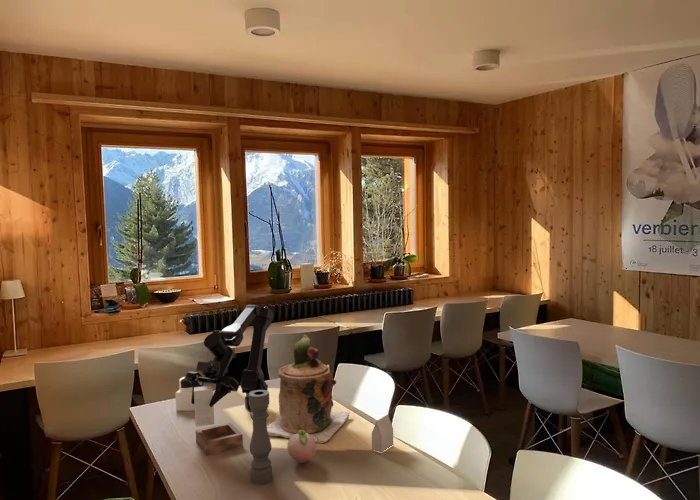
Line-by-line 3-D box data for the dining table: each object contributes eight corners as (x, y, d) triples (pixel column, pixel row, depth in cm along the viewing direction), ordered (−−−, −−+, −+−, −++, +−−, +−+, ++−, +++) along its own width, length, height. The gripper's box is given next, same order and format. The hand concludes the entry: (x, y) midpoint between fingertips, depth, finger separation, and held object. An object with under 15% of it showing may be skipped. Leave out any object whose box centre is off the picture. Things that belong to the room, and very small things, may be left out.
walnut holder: (231, 433, 186) (230, 422, 185) (242, 446, 175) (242, 434, 175) (195, 441, 179) (195, 430, 179) (206, 455, 169) (205, 443, 169)
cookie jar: (259, 436, 183) (256, 343, 181) (290, 410, 206) (288, 327, 204) (327, 445, 175) (325, 347, 173) (351, 417, 198) (350, 331, 196)
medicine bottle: (200, 404, 215) (199, 374, 214) (193, 411, 208) (192, 380, 207) (183, 404, 216) (182, 374, 215) (175, 410, 208) (174, 380, 208)
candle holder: (251, 475, 156) (248, 390, 154) (273, 473, 156) (270, 389, 155) (249, 485, 150) (246, 397, 148) (271, 484, 150) (269, 396, 148)
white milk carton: (393, 446, 173) (392, 415, 173) (381, 454, 168) (381, 422, 167) (383, 443, 175) (383, 413, 175) (372, 451, 170) (371, 420, 169)
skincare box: (213, 419, 182) (212, 384, 180) (214, 424, 178) (213, 389, 176) (195, 421, 180) (193, 386, 179) (195, 427, 176) (193, 391, 175)
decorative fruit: (284, 458, 166) (283, 427, 165) (310, 454, 169) (309, 423, 168) (292, 472, 157) (291, 438, 156) (319, 467, 160) (318, 434, 159)
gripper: (187, 348, 184) (165, 390, 175) (232, 353, 176) (212, 397, 167) (203, 364, 192) (183, 405, 183) (247, 369, 184) (229, 412, 175)
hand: (201, 405), depth 177 cm, fingers closed on skincare box, 7 cm apart
